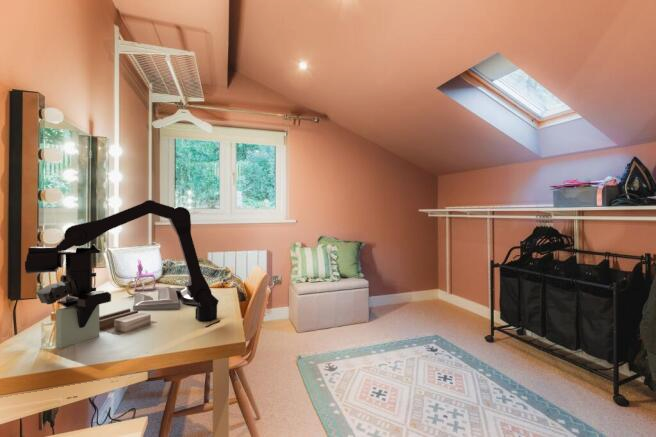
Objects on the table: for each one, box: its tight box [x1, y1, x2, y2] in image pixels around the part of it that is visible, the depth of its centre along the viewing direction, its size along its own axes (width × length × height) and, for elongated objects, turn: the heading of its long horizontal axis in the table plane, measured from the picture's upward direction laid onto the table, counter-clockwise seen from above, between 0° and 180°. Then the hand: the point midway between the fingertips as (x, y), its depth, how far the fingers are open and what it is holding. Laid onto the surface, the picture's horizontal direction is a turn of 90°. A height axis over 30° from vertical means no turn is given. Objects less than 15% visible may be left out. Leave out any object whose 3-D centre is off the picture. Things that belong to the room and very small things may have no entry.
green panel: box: [55, 304, 100, 349], centre depth 82 cm, size 2×9×10 cm, turn 157°
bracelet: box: [125, 277, 145, 297], centre depth 135 cm, size 7×3×8 cm, turn 116°
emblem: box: [132, 286, 198, 311], centre depth 122 cm, size 28×5×28 cm
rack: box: [99, 308, 157, 336], centre depth 95 cm, size 16×12×4 cm
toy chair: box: [133, 258, 156, 293], centre depth 147 cm, size 8×9×15 cm
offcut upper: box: [114, 312, 152, 327], centre depth 93 cm, size 5×8×2 cm, turn 156°
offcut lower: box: [114, 319, 152, 333], centre depth 93 cm, size 5×8×2 cm, turn 157°
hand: (79, 326), depth 82 cm, fingers closed on green panel, 2 cm apart
